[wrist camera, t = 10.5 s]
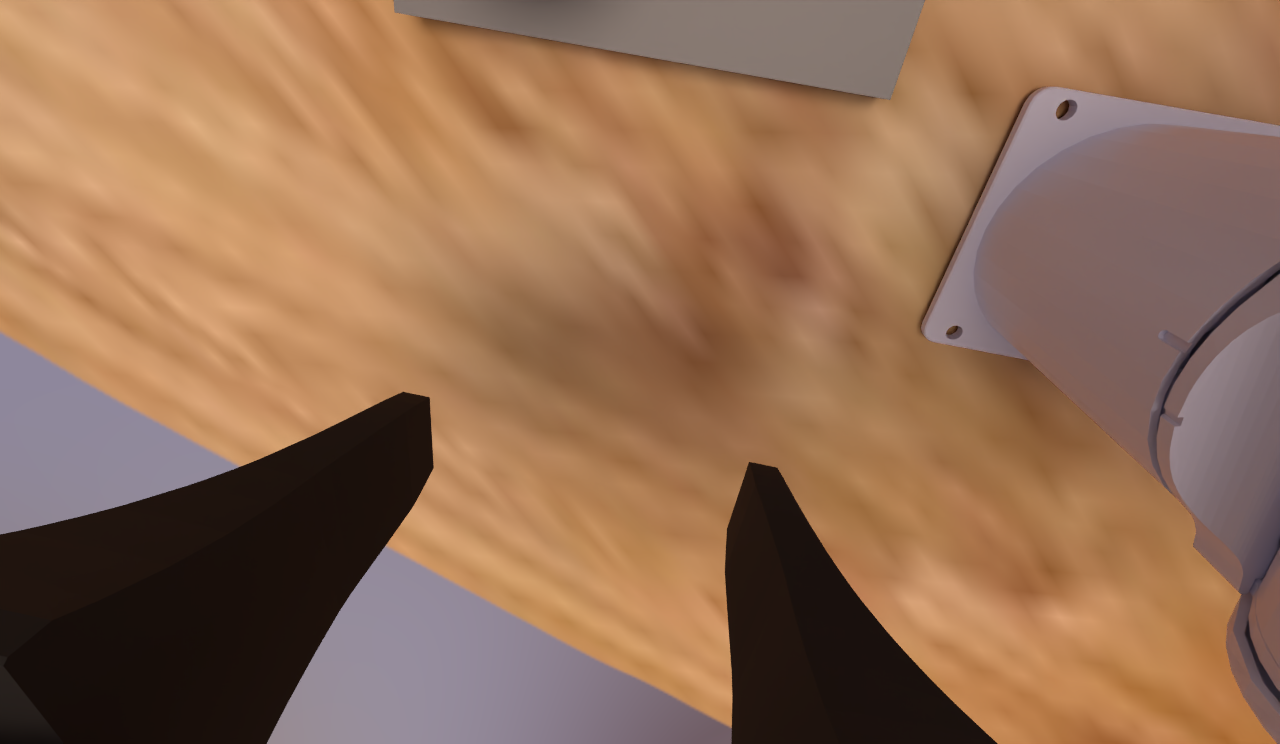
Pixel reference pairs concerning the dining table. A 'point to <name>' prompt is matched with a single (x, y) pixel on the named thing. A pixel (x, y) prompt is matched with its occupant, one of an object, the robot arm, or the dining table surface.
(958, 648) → the dining table surface
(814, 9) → the knob mounting plate
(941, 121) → the dining table surface
